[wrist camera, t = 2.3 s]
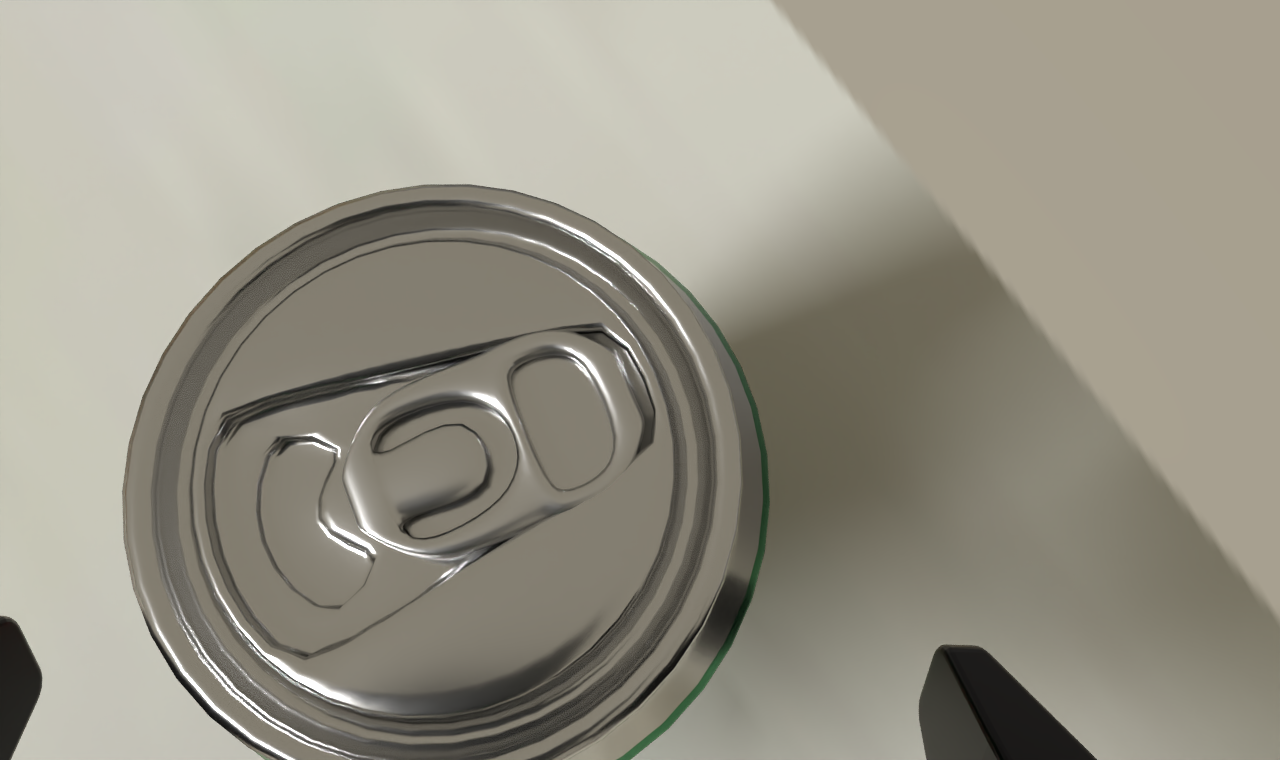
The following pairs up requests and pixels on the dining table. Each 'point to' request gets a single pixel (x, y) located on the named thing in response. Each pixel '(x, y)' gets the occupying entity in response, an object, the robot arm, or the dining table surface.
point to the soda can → (446, 487)
